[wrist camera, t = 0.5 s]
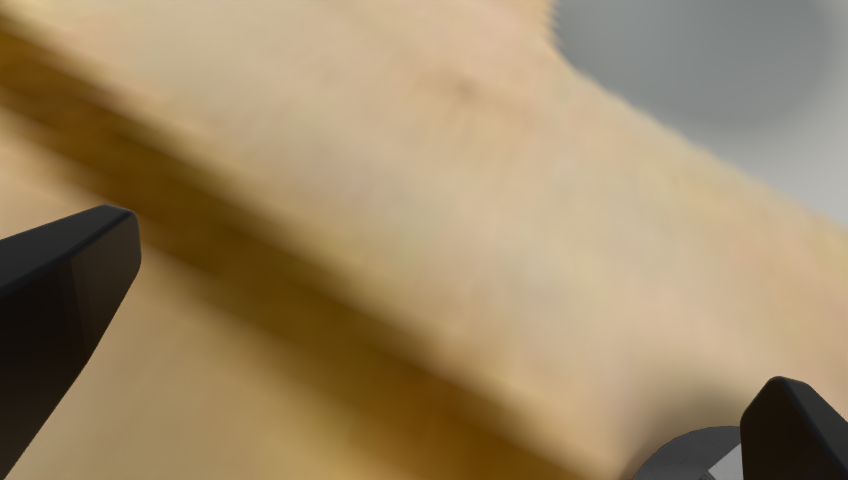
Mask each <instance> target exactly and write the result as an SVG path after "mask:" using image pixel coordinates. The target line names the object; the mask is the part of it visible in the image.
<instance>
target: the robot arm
mask: <svg viewBox="0 0 848 480" xmlns="http://www.w3.org/2000/svg"><path fill="white" fill-rule="evenodd" d="M140 264H141V245H140V233H139V221H138V217H137V215H136V213H135V212H133V211H132V210H129V209H125V208H121V207H118V206H114V205H108V204H104V205H100V206H97V207H94V208H91V209H88V210H85V211H83V212H80V213H77V214H74V215H71V216H68V217H65V218H62V219H59V220H56V221H54V222H51V223H48V224H45V225H42V226H39V227H36V228H33V229H30V230H27V231H25V232H22V233H19V234H16V235H13V236H10V237H7V238H4V239H1V240H0V480H4V479H5V478H6V476H7V475H8V473H9V472H10V471H11V469H12V468H13V466H14V465H15V464H16V462H17V461H18V459H19V458H20V457H21V455H22V454H23V452H24V451H25V450H26V448H27V447H28V446H29V444H30V443H31V441H32V440H33V439H34V437H35V436H36V434H37V433H38V432H39V430H40V429H41V427H42V426H43V425H44V423H45V422H46V420H47V419H48V418H49V416H50V415H51V413H52V412H53V411H54V409H55V408H56V406H57V405H58V404H59V402H60V401H61V399H62V398H63V397H64V395H65V394H66V392H67V391H68V390H69V388H70V387H71V386H72V384H73V383H74V381H75V380H76V379H77V377H78V376H79V374H80V373H81V371H82V370H83V368H84V367H85V365H86V364H87V362H88V361H89V359H90V357H91V356H92V354H93V352H94V351H95V349H96V347H97V346H98V344H99V342H100V340H101V338H102V337H103V335H104V333H105V331H106V329H107V328H108V326H109V324H110V322H111V320H112V319H113V317H114V315H115V313H116V311H117V310H118V308H119V306H120V304H121V302H122V301H123V299H124V297H125V295H126V293H127V291H128V290H129V288H130V286H131V284H132V282H133V281H134V279H135V277H136V275H137V273H138V271H139V268H140ZM740 441H741V455H742V470H743V480H848V422H847V421H846V420H845V419H844V418H843V417H842V416H841V415H839V414H838V413H837V412H836V411H835V410H834V409H833V408H832V407H831V406H830V405H829V404H828V403H827V402H826V401H825V400H824V399H823V398H822V397H821V396H820V395H819V394H818V393H817V392H816V391H815V390H814V389H813V388H812V387H811V386H809V385H808V384H806V383H804V382H801V381H798V380H794V379H790V378H786V377H782V376H775V377H773V378H771V379H769V380H768V381H767V383H766V384H765V385H764V386H763V388H762V389H761V390H760V392H759V393H758V394H757V396H756V397H755V398H754V399H753V401H752V402H751V403H750V405H749V406H748V407H747V408H746V410H745V411H744V413H743V415H742V418H741V421H740Z"/></svg>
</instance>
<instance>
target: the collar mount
mask: <svg viewBox="0 0 848 480" xmlns="http://www.w3.org/2000/svg"><path fill="white" fill-rule="evenodd" d="M632 480H743V470H742V455H741V441H740V427H734V426H723V427H710V428H705V429H701V430H696V431H692V432H689V433H687V434H685V435H682V436H680V437H677V438H675V439H674V440H672V441H670V442H669V443H667V444H666V445H664V446H662V447H661V448H660V449H659V450H658V451H657V452H656V453H654V454H653V455H652V456H651V457H650V458H649V459H648V460H647V461H646V462H645V463H644V464H643V465H642V467H641V468H640V469H639V471H638V472H637V473H636V475H635V476H634V477H633V479H632Z"/></svg>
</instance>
